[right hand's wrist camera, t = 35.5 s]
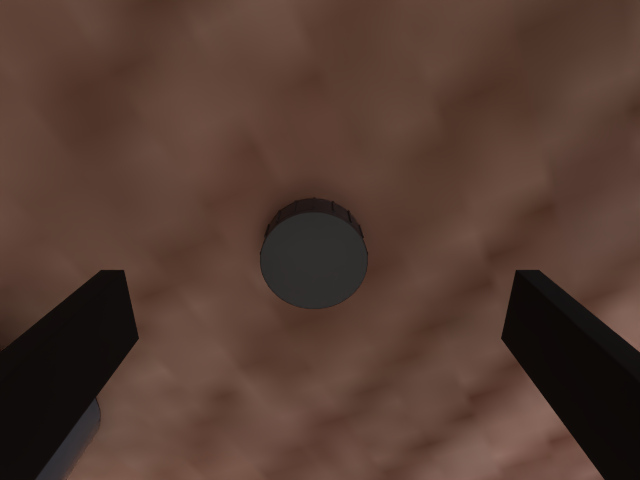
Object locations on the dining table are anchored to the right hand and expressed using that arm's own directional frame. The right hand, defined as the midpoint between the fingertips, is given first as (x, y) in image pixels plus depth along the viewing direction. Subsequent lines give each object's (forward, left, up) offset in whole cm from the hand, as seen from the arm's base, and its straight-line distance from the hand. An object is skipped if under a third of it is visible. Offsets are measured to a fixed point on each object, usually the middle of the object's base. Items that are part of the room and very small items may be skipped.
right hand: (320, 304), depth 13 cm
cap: (0, 0, -3) cm, 3 cm away
